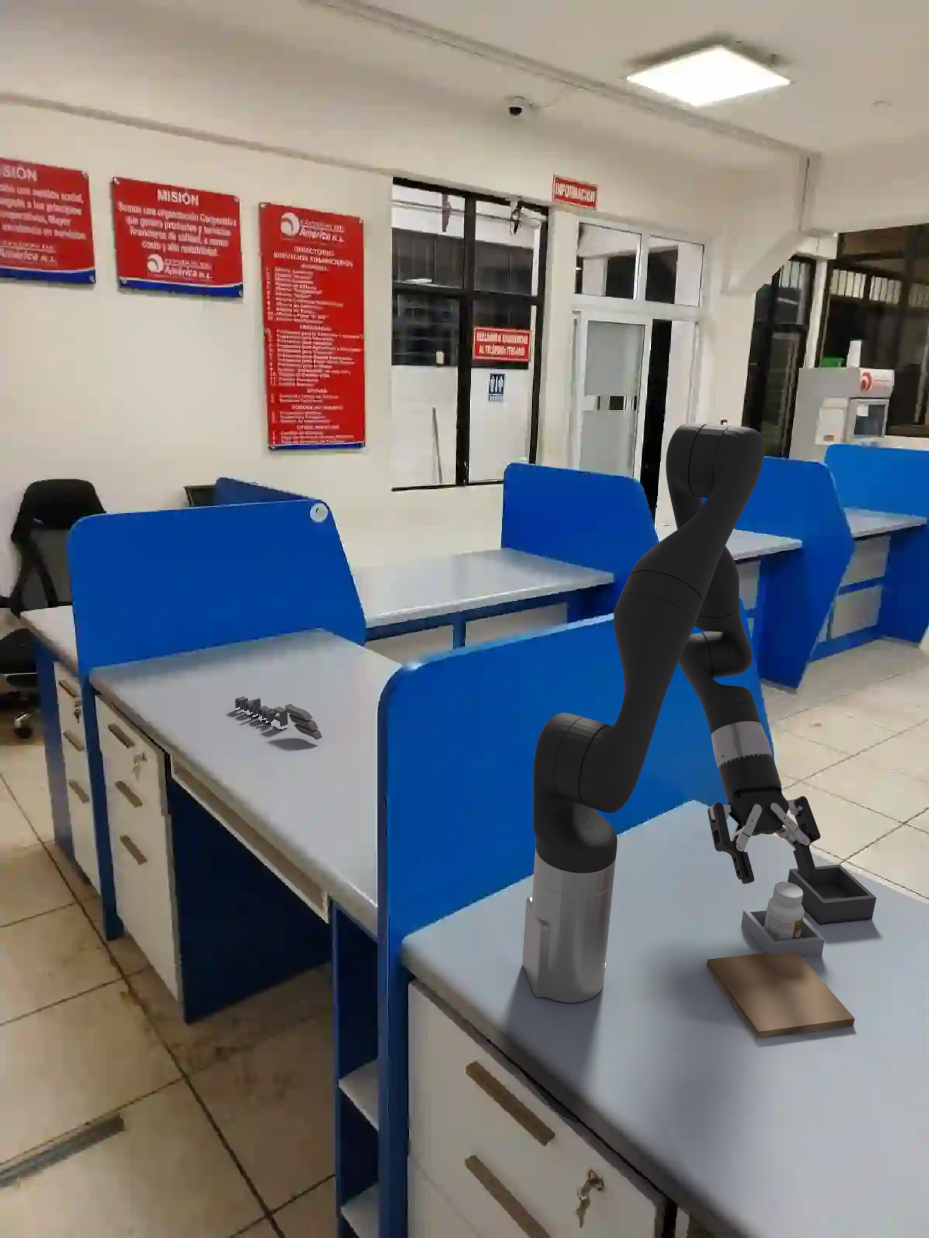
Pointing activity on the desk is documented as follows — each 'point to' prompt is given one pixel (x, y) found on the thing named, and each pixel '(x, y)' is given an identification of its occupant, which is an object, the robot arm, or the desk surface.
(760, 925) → the sleeve
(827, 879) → the box
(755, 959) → the walnut pad
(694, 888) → the desk surface
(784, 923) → the pill bottle
